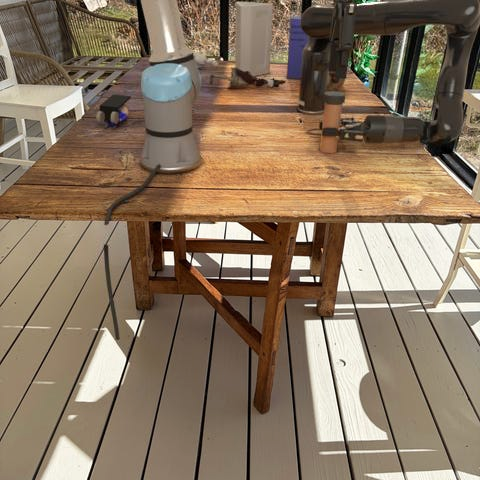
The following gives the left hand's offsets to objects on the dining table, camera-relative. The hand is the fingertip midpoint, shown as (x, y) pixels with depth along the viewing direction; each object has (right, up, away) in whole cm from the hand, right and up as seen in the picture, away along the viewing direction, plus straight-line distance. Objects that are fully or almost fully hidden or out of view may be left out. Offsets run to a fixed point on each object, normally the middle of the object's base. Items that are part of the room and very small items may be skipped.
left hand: (336, 74), depth 122 cm
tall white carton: (-19, +34, +95) cm, 103 cm away
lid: (0, -4, +3) cm, 5 cm away
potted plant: (+13, +19, +71) cm, 75 cm away
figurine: (-22, +19, +70) cm, 76 cm away
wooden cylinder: (0, -17, +10) cm, 20 cm away
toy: (-50, +39, +102) cm, 120 cm away
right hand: (-3, -12, +7) cm, 14 cm away
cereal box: (+4, +29, +87) cm, 91 cm away
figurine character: (-64, -6, +28) cm, 70 cm away
